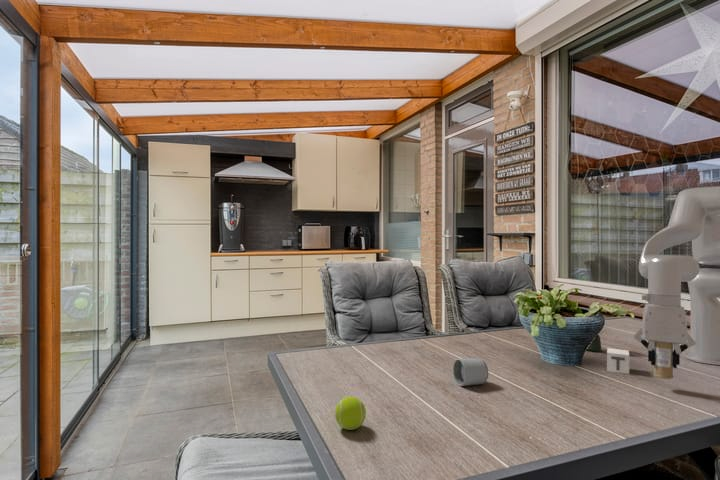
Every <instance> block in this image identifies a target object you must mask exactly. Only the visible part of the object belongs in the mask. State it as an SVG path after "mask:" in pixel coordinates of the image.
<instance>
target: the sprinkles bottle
mask: <svg viewBox="0 0 720 480" xmlns="http://www.w3.org/2000/svg"><path fill="white" fill-rule="evenodd" d="M653 348H654V351H655V365H653V366H654V369H653V370H654V372H653V375H654V377H656V378H659V379H664V380H665V379H666V380H671V379H674V369H673V351H674V345H673V343H665V342H656V341H655V343H654V346H653Z"/></svg>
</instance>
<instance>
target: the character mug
mask: <svg viewBox="0 0 720 480" xmlns="http://www.w3.org/2000/svg"><path fill="white" fill-rule="evenodd" d="M603 330H604V329H602V330H601V332H600V333H599V334H598V335H597V336H596V337H595V339H594V340H593V341H592V343H591V344H590V346H589V347H588V349H587V350H588V351H589V350H590V351H598V352H599V351H601V350H602V341H601V336H600V335H601V334H603Z"/></svg>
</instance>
